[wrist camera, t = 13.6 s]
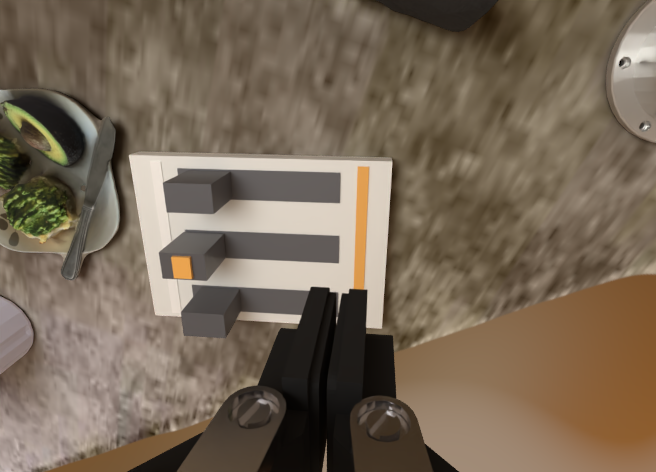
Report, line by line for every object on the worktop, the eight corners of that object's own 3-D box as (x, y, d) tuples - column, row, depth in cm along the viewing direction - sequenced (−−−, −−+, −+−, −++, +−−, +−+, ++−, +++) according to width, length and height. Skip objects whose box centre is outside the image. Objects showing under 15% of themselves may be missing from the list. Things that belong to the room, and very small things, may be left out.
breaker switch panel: (391, 157, 37) (395, 173, 31) (381, 318, 43) (383, 359, 37) (140, 151, 39) (94, 165, 33) (164, 305, 46) (129, 343, 39)
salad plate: (151, 275, 45) (128, 296, 41) (0, 269, 46) (-38, 288, 42) (119, 88, 38) (87, 89, 34) (-58, 87, 39) (-110, 88, 35)
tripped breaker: (223, 233, 39) (202, 255, 34) (225, 257, 40) (205, 282, 35) (183, 232, 40) (156, 253, 35) (186, 255, 40) (161, 280, 36)
